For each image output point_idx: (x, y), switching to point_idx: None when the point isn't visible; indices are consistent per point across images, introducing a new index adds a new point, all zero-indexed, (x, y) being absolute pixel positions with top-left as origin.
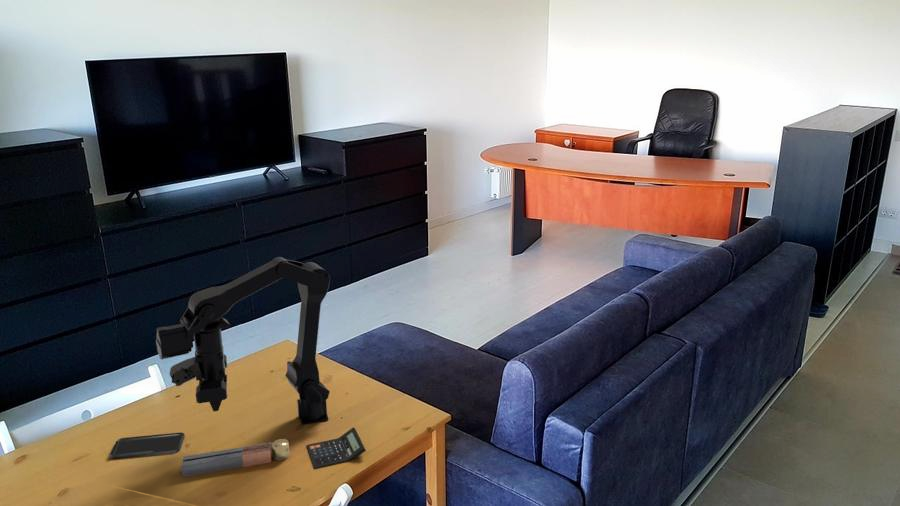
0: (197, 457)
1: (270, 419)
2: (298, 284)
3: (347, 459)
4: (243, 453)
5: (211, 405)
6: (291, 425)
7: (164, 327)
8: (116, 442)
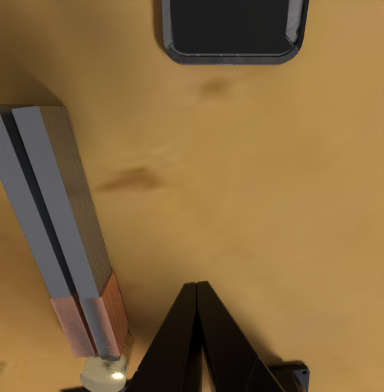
0: (34, 165)
1: (297, 309)
2: None
3: None
4: (62, 301)
5: (164, 324)
6: None
7: None
8: None
